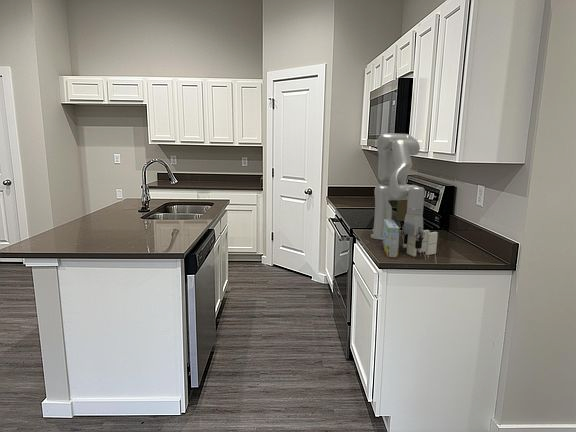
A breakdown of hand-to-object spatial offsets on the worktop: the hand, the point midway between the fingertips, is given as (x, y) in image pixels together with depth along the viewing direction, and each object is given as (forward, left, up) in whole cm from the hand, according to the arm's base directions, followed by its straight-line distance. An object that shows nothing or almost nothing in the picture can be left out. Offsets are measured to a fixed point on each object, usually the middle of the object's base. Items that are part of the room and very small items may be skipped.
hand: (412, 246), depth 200 cm
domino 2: (0, 0, -5) cm, 5 cm away
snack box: (-8, -8, -5) cm, 12 cm away
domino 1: (-14, +8, -5) cm, 17 cm away
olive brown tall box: (-83, +51, -5) cm, 98 cm away
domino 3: (-4, +10, -5) cm, 12 cm away
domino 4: (+1, +11, -5) cm, 12 cm away
